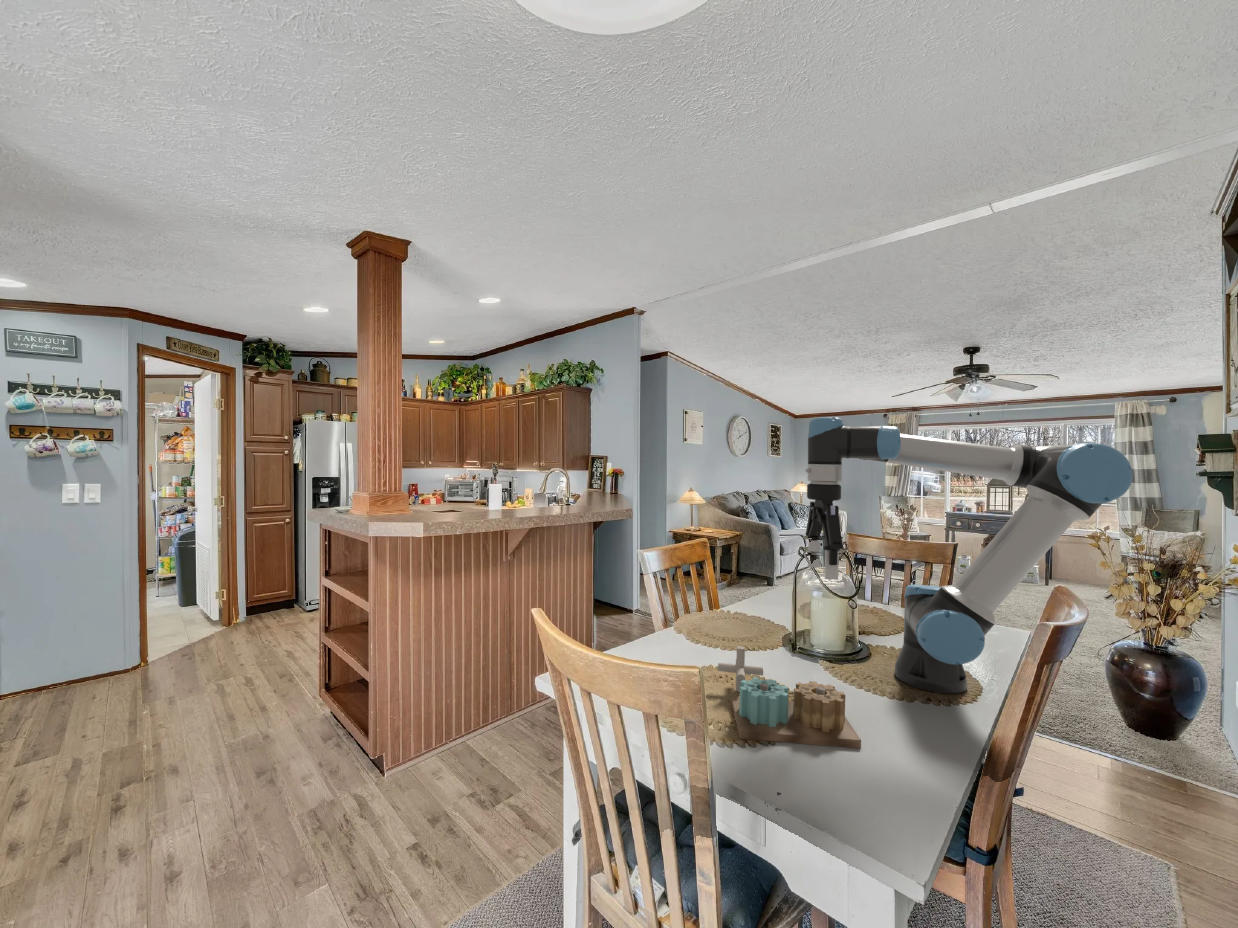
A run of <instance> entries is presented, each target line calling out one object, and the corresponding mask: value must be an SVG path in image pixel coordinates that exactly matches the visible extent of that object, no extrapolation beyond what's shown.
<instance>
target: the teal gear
mask: <svg viewBox="0 0 1238 928" xmlns="http://www.w3.org/2000/svg"><path fill="white" fill-rule="evenodd" d="M760 684H767V685H768V691H762V690H760ZM739 698H740V699H739V714H740V716H741V717H747V718H748V719H749V720H750V723H752V724H755V725H757V724H758V723H761V724H768V726H769V727H776V724H779V723H780V722H781V723H784V724H786V723H787V722H788V701H789V688H788V687H787V686H786V685H780V684H779V683H777V680H775V679H771V678H770V679H769V680H768V679H760V678H759V677H756V676H755V677H752V678H751V679H749V680H746V679H745V680H742V681H741V682H740V693H739Z"/></svg>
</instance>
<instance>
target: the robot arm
mask: <svg viewBox="0 0 1238 928" xmlns="http://www.w3.org/2000/svg"><path fill="white" fill-rule="evenodd" d="M807 436H808V437H807V468H805V473H806V474H807V481H808V482H809V483H807V484H806V498H807V499H808V500H810V502H809V511H808V512H809V513H808V517H807V524H806V525H807V526H806V530H805V535H806V536H805V537H807V540H808V538H812V539H811V540H810V541H811V542H809V543H808V544H807V545H808V546H807V548H808V549H807V551H808V550H809V552H810V551H819V550H820V551H821V541H822V536H821V534H822V531H823V535H824V541H825V545H826V546H825V545H824V548H823V551H824V580H839V562H840V561H839V556H840V555H839V554H840V550H843V548H844V546H843V545H844V543H843V537H842V529H841V523H840V517H839V514H840V513H839V511H840V510H839V506H838V505H834V503H833V502H834V501H835V502H836V501H840V500H841V499H842V485H841V484H840V483H841V482H842V481H843V480H842V478H843V477H842V476H843V464H842V463H843V462H842V460H843V459H859V460H863V461H874V462H881V463H882V462H883V463H888V464H895V465H901V466H908V467H909V466H910V467H914V468H915V467H916V468H920V469H921V468H922V469H929V470H935V471H942V472H948V473H953V474H954V473H955V474H961V475H966V476H973V477H980V478H981V477H982V478H987V479H994V480H1000V481H1004V483H1006V485H1008V486H1012V487H1017V488H1023V489H1026V492H1027V494H1028V496H1027V498H1026V499H1025V501H1024V502H1023V503H1022V504H1021V505H1020V506H1019V508H1018V509H1017V510H1016V511H1015V512H1014V513H1013V514H1012V516H1011V517H1010V518H1009V519H1008V520H1007V522H1006V523H1005V524H1004V525H1003V526H1002V527H1001V529H1000V530H998V532H997V534H996V535H994V537H993V538H992V539H991V540H990V541H989V542H988V544H987V545H986V546H985V547H984V548H983V550H981V551H980V553H979V555H978V556H976V558H975V559H974V560H973V561H972V563H971V564H970V565H969V566H968V568H967V569H966V570H965V571H964V572H963V573H962V574H961V575H960V577H958V579H957V580H956V581H955V583H954V584H950V585H949V584H948V585H941V586H935V585H925V584H924V585H923V584H909V585H907V586H906V587H905V589H904V590H905V592H904V596H903V597H904V616H903V618H904V619H903V620H904V621H903V623H904V624H903V626H904V627H903V642H902V643H903V644H902V647H901V649H900V652H899V653H898V656H897V658H896V661H895V665H894V675H895V677H896V678H898V680H899V681H901V682H903V683H905V684H907V685H909V686H911V687H914V688H916V689H917V688H918V689H920V690H924V691H927V690H928V692H932V691H933V693H937V692H938V693H939V694H947V693H955V694H961V693H963V691H964V692H965V691H966V690H967V689H968V679H967V678H968V677H967V675H966V672H965V671H966V670H965V668H964V664H968V663H971V662H973V661H975V660H976V659H977V658H979V656H980V655H981V654H982V652H983V651H984V648H985V643H986V642H985V640H986V637H985V636H986V635H987V634H988V632H989V631H990V630H991V629H992V628H993V627H994V626H995V625H996V623H997V622H996V618H995V617H996V616H995V611H996V610H997V609H998V608H999V607H1000V606H1001V604H1003V602H1004V601H1005V600H1006V599H1007V598H1008V596H1010V594H1011V593H1012V592H1013V591H1014V590H1015V588H1016V587H1017V586H1018V585H1019V584H1020V583H1021V582H1022V581H1023V579H1024V578H1025V577H1026V576H1027V575H1028V574H1029V573H1030V572H1031V571H1032V569H1033V568H1034V567H1035V566H1036V565H1037V564H1038V563H1039V561H1040V560H1041V559H1042V558H1043V557H1044V556H1045V555H1046V553H1047V552H1048V551H1049V550H1050V549H1051V548H1052V547H1053V546H1054V545H1055V543H1056V542H1057V541H1058V540H1059V539H1060V537H1061V536H1062V535H1063V534H1064V533H1065V532H1066V531H1067V530H1068V529H1069V527H1071V525H1072V524H1073V523H1075V522H1077V521H1078V522H1079V521H1085V520H1086V521H1087V520H1089V519H1090V518H1091V517H1092V516H1093V514H1095V512H1096V511H1098V509H1099V508H1100V507H1101V506H1102V505H1103V504H1107V503H1110V502H1113V501H1116V500H1118V499H1119V498H1121V497H1122V496H1124V494H1126V492H1128V490H1129V489H1130V487H1131V485H1132V482H1133V476H1134V475H1133V472H1134V471H1133V470H1132V469H1133V468H1132V466H1131V465H1132V464H1131V463H1130V461H1129V459H1128V458H1127V457H1126V456H1125V455H1124V453H1122V452H1121V451H1120V450H1118V449H1116V448H1114V447H1112V446H1110V445H1107V444H1103V443H1098V442H1097V443H1096V442H1092V441H1090V442H1089V441H1084V442H1083V441H1082V442H1077V443H1072V444H1056V445H1046V446H1045V445H1044V446H1043V445H1042V446H1041V445H1040V446H1037V445H1036V446H1032V445H1023V444H1016V445H1014V446H1012V447H1004V446H1003V447H1002V446H996V445H989V444H982V443H974V442H966V441H965V442H964V441H957V440H950V439H949V440H948V439H943V438H942V439H941V438H935V437H934V438H933V437H926V436H919V435H910V434H904V433H901V430H900V429H899V427H897V426H894V425H893V426H889V425H874V426H871V425H870V426H869V425H867V426H866V425H865V426H849V425H848V426H847V425H844V422H843V419H842V418H840V417H814V418H811V420H810V421H809V423H808V435H807ZM811 500H812V501H811ZM817 532H818V533H817ZM816 534H817V535H816ZM808 541H809V540H808ZM808 561H809V558H808V557H807V562H808ZM807 567H808V568H810V567H811V568H813V567H814V568H820V567H821V558H820V559H816V560H814V561H813V563H812V564H811V561H809V564H808V563H807Z"/></svg>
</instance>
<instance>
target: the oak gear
mask: <svg viewBox="0 0 1238 928" xmlns="http://www.w3.org/2000/svg"><path fill="white" fill-rule="evenodd" d="M817 687H821V688H824V689H825V695H817V694H816V688H817ZM793 717H794V719H800V720H801V722H802V725H803V726H805V727H808V728H809V727H811V726H812V727H815V728H821V730H822V731H824V732H829V729H834V728H836V729H838V730H841V729H843V728H844V723H845V717H846V694H845V692H844V691H838V690H837V689H836V686H835V685H831V684H829V683H828V684H826V685H825V684H823V683H818V682H817V681H813V680H809V683H808V682H806V683H802V682H800V681H799V682H797V683H795V688H793Z"/></svg>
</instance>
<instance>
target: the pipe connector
mask: <svg viewBox="0 0 1238 928" xmlns="http://www.w3.org/2000/svg"><path fill="white" fill-rule="evenodd" d="M745 653H746V647H745V646H742V645H738V646H736V658H735V664H734V663H724V662H717V664H718V665H717V671H718V672H724V673H733V674H734V673H735V692H736V691H739V692H740V682H741V681H742V680H746V675H752V676H753V675H754V676H764V667H763V666H755V665H745V659H746V658H745V657H746V654H745Z"/></svg>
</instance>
